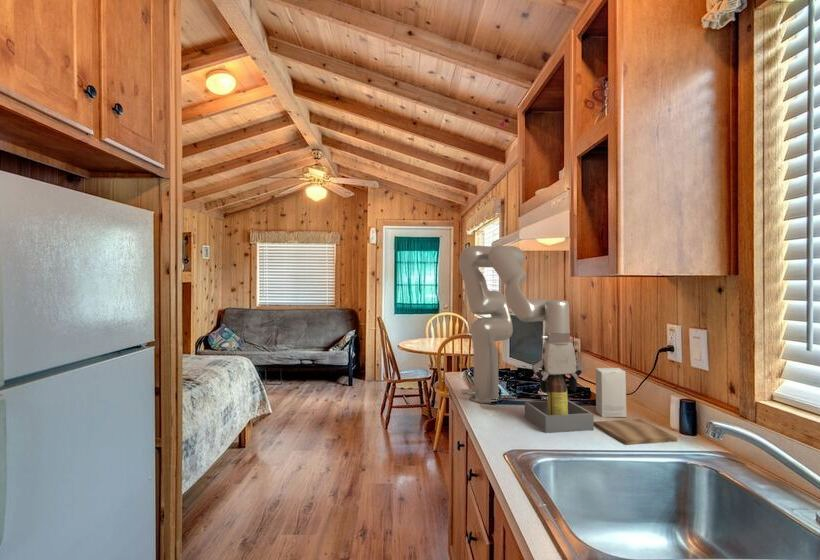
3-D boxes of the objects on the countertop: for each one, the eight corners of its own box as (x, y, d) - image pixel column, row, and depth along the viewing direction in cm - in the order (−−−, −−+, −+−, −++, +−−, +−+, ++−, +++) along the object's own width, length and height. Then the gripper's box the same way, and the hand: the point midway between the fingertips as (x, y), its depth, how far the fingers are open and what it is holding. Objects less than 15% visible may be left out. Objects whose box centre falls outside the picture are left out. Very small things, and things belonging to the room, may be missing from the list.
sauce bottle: (572, 424, 136) (572, 362, 136) (559, 427, 133) (559, 364, 133) (555, 418, 142) (555, 359, 142) (542, 421, 139) (542, 360, 139)
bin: (545, 432, 129) (545, 416, 129) (524, 416, 144) (524, 401, 144) (593, 430, 131) (593, 413, 131) (567, 414, 146) (567, 399, 146)
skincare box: (619, 412, 148) (619, 367, 148) (627, 418, 142) (627, 371, 142) (594, 411, 149) (594, 367, 149) (601, 417, 143) (601, 371, 143)
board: (625, 444, 119) (625, 440, 119) (593, 425, 135) (593, 421, 135) (677, 441, 121) (677, 437, 121) (639, 422, 137) (639, 419, 137)
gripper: (537, 340, 132) (538, 395, 132) (588, 338, 135) (590, 392, 135) (527, 337, 140) (528, 390, 140) (576, 336, 142) (577, 387, 142)
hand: (558, 391), depth 137 cm, fingers open, 9 cm apart
